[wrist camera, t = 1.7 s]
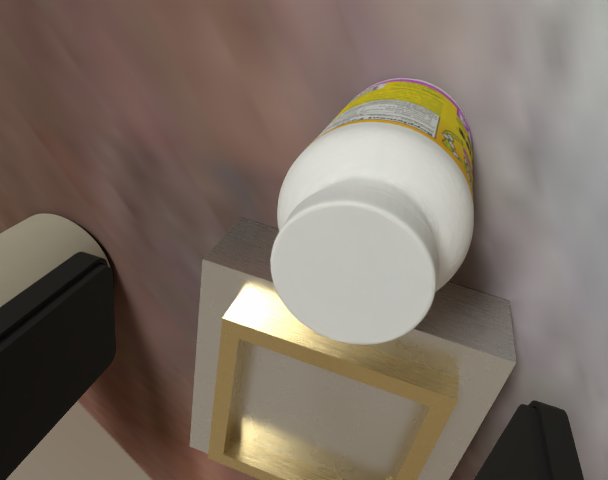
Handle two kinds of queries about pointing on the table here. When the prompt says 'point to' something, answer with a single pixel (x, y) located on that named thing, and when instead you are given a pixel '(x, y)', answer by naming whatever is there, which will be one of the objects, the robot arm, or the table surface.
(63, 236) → the travel mug
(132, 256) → the table surface
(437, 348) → the white gold-rimmed box
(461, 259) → the supplement bottle
